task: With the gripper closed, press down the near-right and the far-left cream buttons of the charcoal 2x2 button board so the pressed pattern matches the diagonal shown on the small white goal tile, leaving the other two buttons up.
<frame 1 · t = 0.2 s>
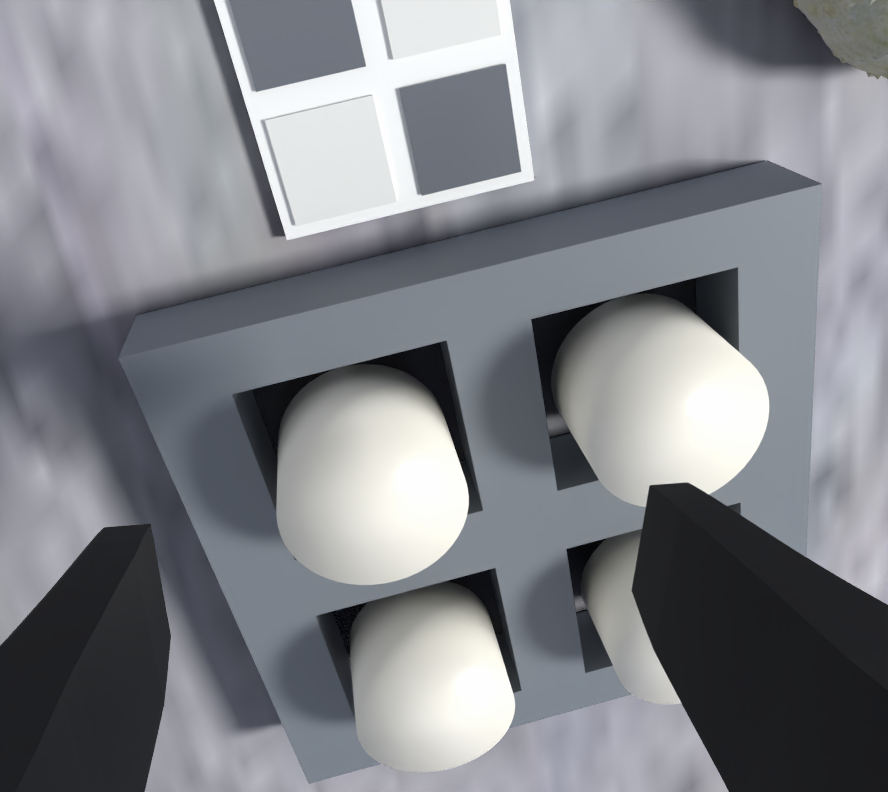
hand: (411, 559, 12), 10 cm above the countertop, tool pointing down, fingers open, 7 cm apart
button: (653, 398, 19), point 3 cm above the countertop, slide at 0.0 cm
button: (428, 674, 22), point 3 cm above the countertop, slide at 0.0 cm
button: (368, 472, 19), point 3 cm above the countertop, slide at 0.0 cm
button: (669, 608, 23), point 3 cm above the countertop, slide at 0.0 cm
goal tile: (381, 75, 18), on the countertop
board: (504, 479, 24), on the countertop
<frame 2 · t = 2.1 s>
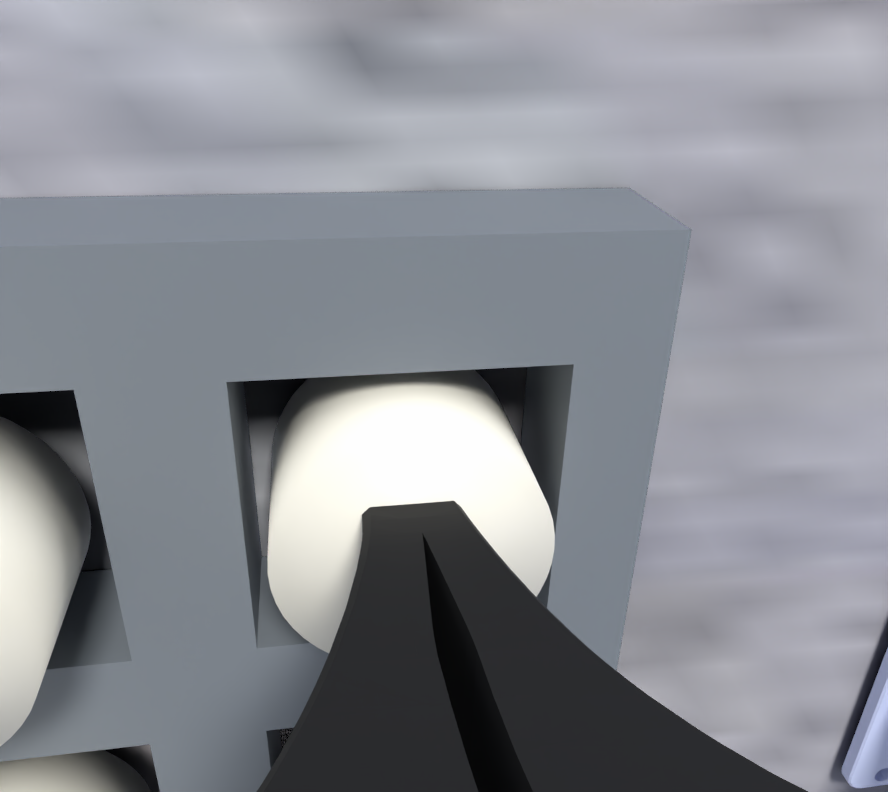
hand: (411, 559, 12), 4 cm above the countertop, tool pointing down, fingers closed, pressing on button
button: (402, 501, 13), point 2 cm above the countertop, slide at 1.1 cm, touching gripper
board: (214, 601, 16), on the countertop
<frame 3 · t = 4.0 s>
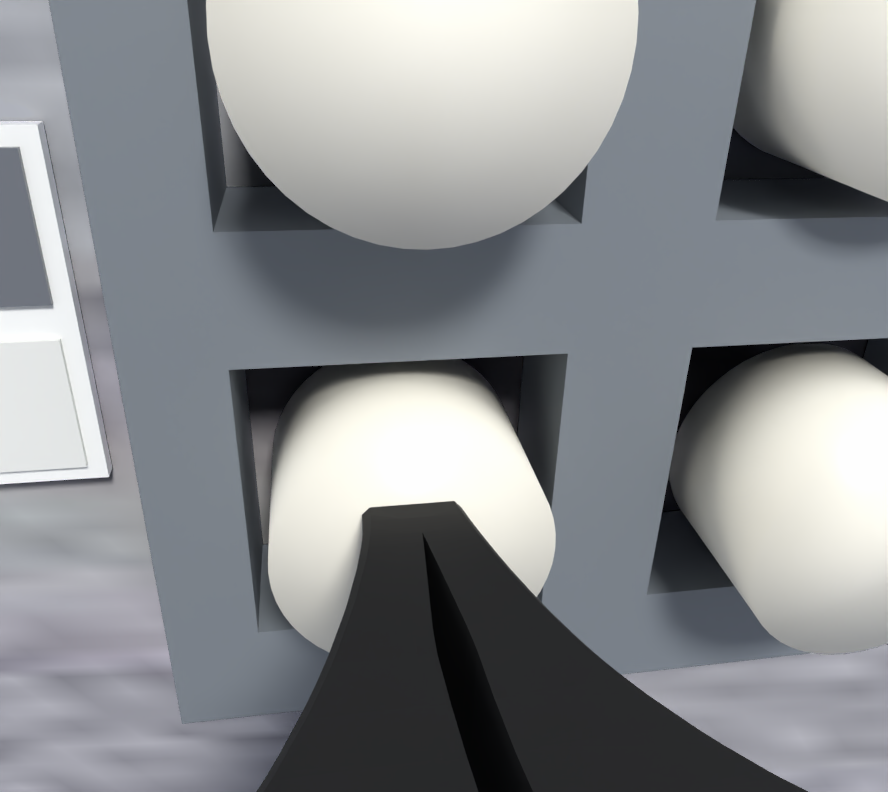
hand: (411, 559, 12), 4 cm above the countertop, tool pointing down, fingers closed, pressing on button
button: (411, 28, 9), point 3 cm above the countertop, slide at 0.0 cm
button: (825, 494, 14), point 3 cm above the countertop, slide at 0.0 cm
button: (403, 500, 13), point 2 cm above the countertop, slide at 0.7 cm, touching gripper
board: (588, 240, 14), on the countertop
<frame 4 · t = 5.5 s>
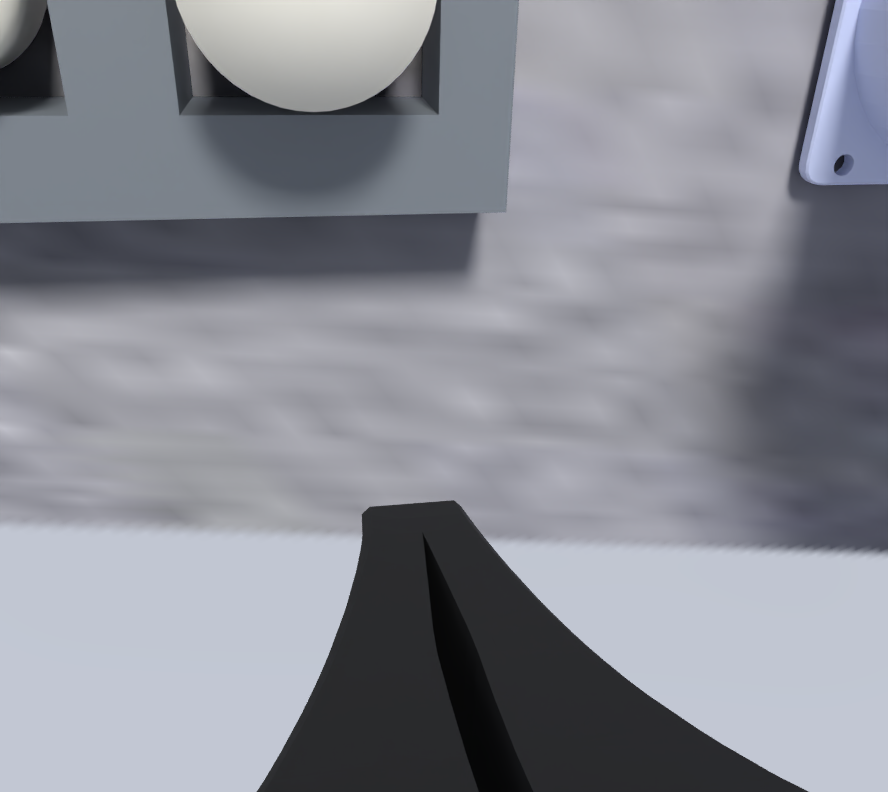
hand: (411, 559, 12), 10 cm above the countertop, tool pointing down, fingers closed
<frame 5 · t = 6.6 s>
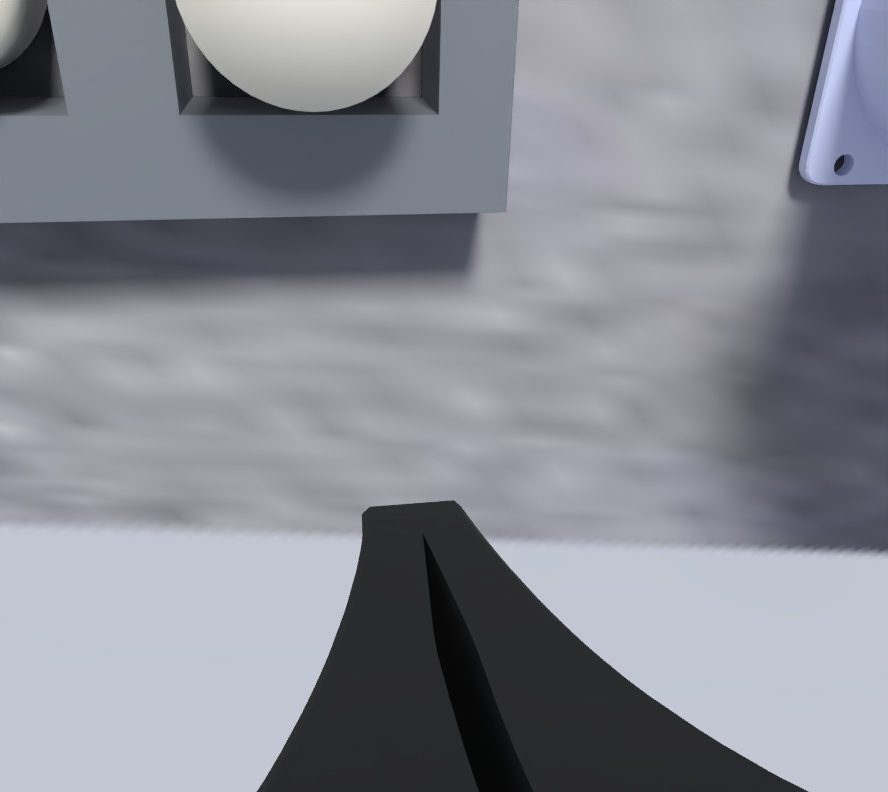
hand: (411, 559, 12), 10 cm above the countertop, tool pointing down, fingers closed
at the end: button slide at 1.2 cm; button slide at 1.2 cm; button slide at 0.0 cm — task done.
